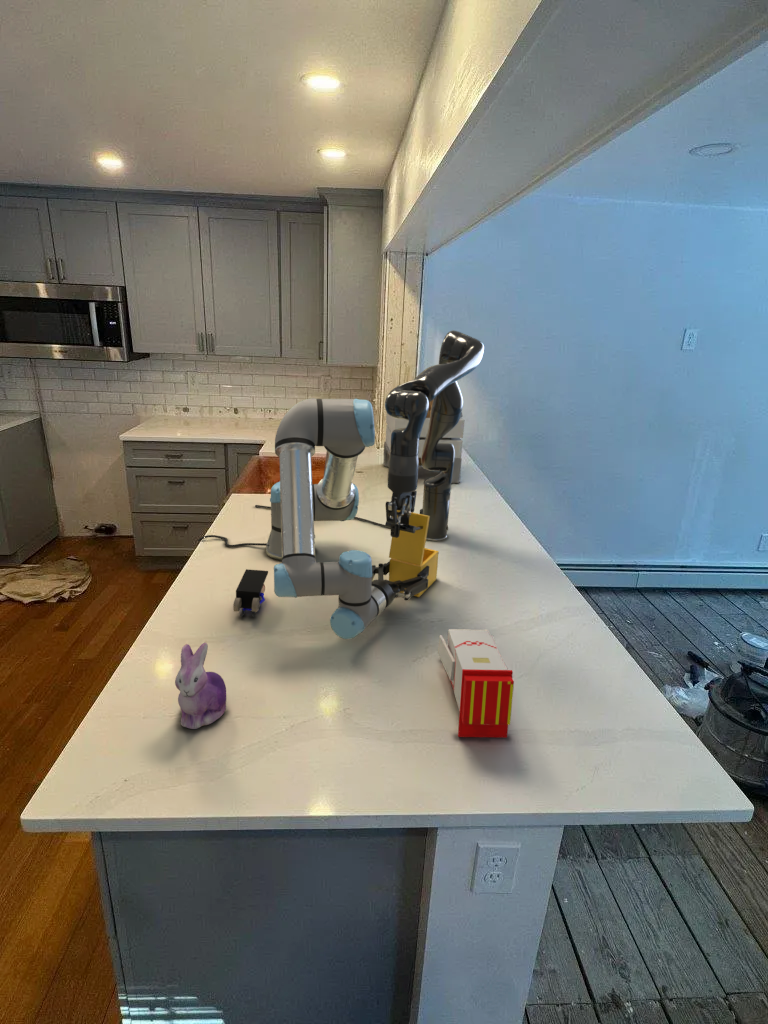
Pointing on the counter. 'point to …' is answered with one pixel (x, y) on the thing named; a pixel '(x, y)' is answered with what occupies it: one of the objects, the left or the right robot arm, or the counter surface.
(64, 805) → the counter surface
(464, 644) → the toy
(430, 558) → the chest
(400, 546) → the yellow handled panel
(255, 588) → the figurine character
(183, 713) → the figurine
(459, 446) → the grey storage bin
